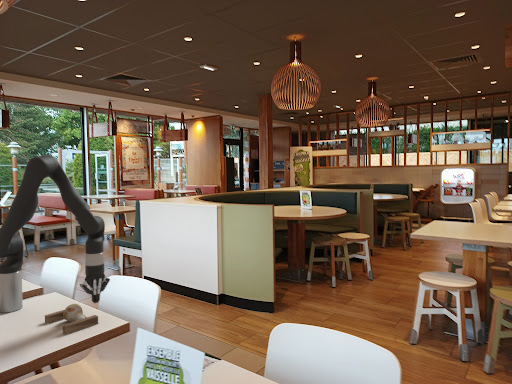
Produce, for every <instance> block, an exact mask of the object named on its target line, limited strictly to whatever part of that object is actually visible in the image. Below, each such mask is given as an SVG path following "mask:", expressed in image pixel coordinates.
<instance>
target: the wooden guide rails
mask: <svg viewBox="0 0 512 384" xmlns="http://www.w3.org/2000/svg"><path fill="white" fill-rule="evenodd" d="M64 310H65V309H63V310H59V311H55V312H51V313H47V314H45V315H44V323H45V324H47V325H49V324H51V323H52V324H53V323H56V322H59V321H62V320H66V319H65V318H64V316H63V313H64ZM86 317H87V318H84V319H81V320H78V321H75V322H68V323H66V324H65V323H64V324H62V333H63V334H65V335H69V334H72V333H75V332H78V331H80V330H84V329H86V328H90V327H92V326H95V325H97V324H99V316H98V315H96V314H93V315H90V316H86Z"/></svg>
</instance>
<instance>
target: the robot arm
mask: <svg viewBox="0 0 512 384" xmlns="http://www.w3.org/2000/svg"><path fill="white" fill-rule="evenodd" d="M46 178H50V179H51V180H52V181H53V182H54V183H55V185H56V186H57V189H58V190H59V194H60V197H61V200H62V202H63V204H64V205H65V206H66V208H67V209H68V210H69V211H70V212H71V213H72V214H73V215H74V218H75V220H76V221H77V223H78V224H79V227H80V228H81V229H82V230H83V231H84V232H85V233H86V234H87V239H86V241H85V243H84V244H85V245H84V246H85V247H84V248H85V256H84V264H85V265H84V267H85V268H84V271H85V273H84V275H85V278H84V281H83V282H82V283H80V284H79V287H80V288H81V289H82V290H84V292H85V293H87V294H88V295H91V302H92V303H93V304H97V303H99V302H100V300H101V299H100V296H101V295H100V294H101V293H102V292H105V289H106V288H107V286H108V284H109V282H111V281H110V280H111V279H110V278H109V277H106V275H105V255H104V236H105V229H106V228H105V227H106V225H105V221H104V219H103V217H101V216H99V215H94V214H93V213H92V212H91V208H90V205H89V204H88V202H87V201H86V200H85V199H84V198H83V197H82V195H81V194H80V193H79V192H78V190H77V189H76V188H75V186H74V185H73V183H72V182H71V180H70V178H69V177H68V175H67V173H66V172H65V170H64V169H63V166H62V165H61V164H60V162H59V161H58V159H57V158H56V157H55V156H54V155H51V154H43V155H38V156H33V157H32V158H30V159H29V160H28V162H27V164H26V166H25V169H24V172H23V176H22V179H21V182H20V185H19V187H18V189H17V192H16V194H15V196H14V198H13V200H12V202H11V205H10V206H9V209H8V211H7V212H8V213H7V214H6V216H5V219H4V221H3V222H2V224H1V227H0V259H3V258H5V260H4V261H3V262H1V263H0V313H12V312H16V311H19V310H21V309H22V308H23V274H22V273H23V272H22V270H23V269H22V267H23V264H24V252H25V251H24V250H25V249H24V240H23V238H22V237H21V236H20V235H18V234H17V232H19V230H21V229H23V227H25V225H27V224H28V223H29V222H30V221H31V220H32V218H33V217H34V215H35V213H36V211H37V209H38V206H39V195H38V193H39V192H38V191H39V189H40V186H41V184H42V183H43V181H44V179H46ZM88 286H89V287H88Z"/></svg>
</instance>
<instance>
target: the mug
mask: <svg viewBox="0 0 512 384" xmlns="http://www.w3.org/2000/svg"><path fill="white" fill-rule="evenodd" d="M63 310H64V313H63V316H64V318H65V319H64V320H66V321H68V322H69V323H72V322H75V321H78V320H81V319H84V318H87V317H88V316H86V315H85V314H84V311H83V308H82V306H81V305H80V304H78V303H72V304H70V305H67V306H66V307H65V308H64V309H63Z"/></svg>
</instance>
